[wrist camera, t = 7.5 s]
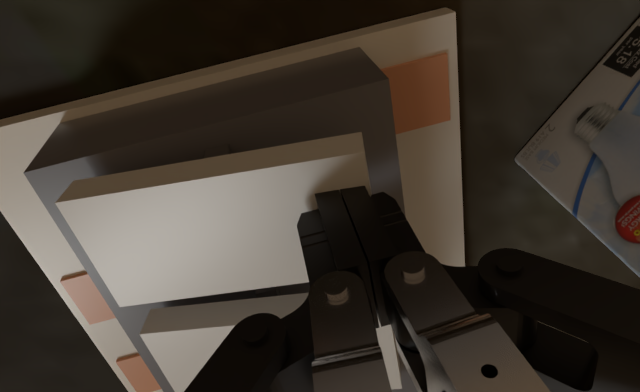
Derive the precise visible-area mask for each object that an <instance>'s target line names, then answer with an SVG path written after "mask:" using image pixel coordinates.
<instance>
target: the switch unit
mask: <svg viewBox="0 0 640 392" xmlns="http://www.w3.org/2000/svg"><path fill="white" fill-rule="evenodd" d="M357 132H362V137H363V143H364V149H365V156H366V162H367V168H368V174H369V180H370V186H371V192H372V194H376V193H380V192H385V193H386V194H388V195H389V196H391V197H393V198H394V199H395V200H396V201H397V203H398V205H399V207H400V208H401V211H402V212H403V214H404V215H405V217H406V220H407V221H408V222H409V224H410V226H411V228H412V229H413V231H414V233H415V235H416V236H417V238H418V240H419V242H420V243H421V245H422V247H423V249H424V250H425V252H426V253H428V254H430V255H432V256H434V257H435V258H436V259H437V260H438V261H439V262H440V263H441V264H444V265H448V266H456V267H465V253H464V225H463V198H462V170H461V143H460V116H459V88H458V61H457V34H456V12H455V11H453V10H451V9H449V8H447V7H444V8H440V9H436V10H432V11H428V12H424V13H420V14H417V15H413V16H409V17H405V18H401V19H397V20H393V21H389V22H385V23H381V24H377V25H373V26H369V27H365V28H361V29H357V30H353V31H349V32H345V33H341V34H337V35H333V36H329V37H325V38H321V39H317V40H314V41H310V42H306V43H302V44H298V45H294V46H290V47H286V48H282V49H278V50H274V51H270V52H266V53H262V54H258V55H254V56H250V57H246V58H242V59H238V60H234V61H230V62H226V63H222V64H218V65H214V66H210V67H207V68H203V69H199V70H195V71H191V72H187V73H183V74H179V75H175V76H171V77H167V78H163V79H159V80H155V81H151V82H147V83H143V84H139V85H135V86H131V87H127V88H123V89H119V90H115V91H111V92H107V93H104V94H100V95H96V96H92V97H88V98H84V99H80V100H76V101H72V102H68V103H64V104H60V105H56V106H52V107H48V108H44V109H40V110H36V111H32V112H28V113H24V114H20V115H16V116H12V117H8V118H4V119H1V120H0V211H1V212H2V214H3V215H4V217H5V218H6V220H7V221H8V222H9V224H10V225H11V227H12V228H13V229H14V231H15V232H16V234H17V235H18V236H19V238H20V239H21V241H22V242H23V244H24V245H25V246H26V248H27V249H28V251H29V252H30V253H31V255H32V256H33V258H34V259H35V260H36V262H37V263H38V265H39V266H40V267H41V269H42V270H43V272H44V273H45V275H46V276H47V277H48V279H49V280H50V282H51V283H52V284H53V286H54V287H55V289H56V290H57V291H58V293H59V294H60V296H61V297H62V299H63V300H64V301H65V303H66V304H67V306H68V307H69V308H70V310H71V311H72V313H73V314H74V315H75V317H76V318H77V320H78V321H79V323H80V324H81V325H82V327H83V328H84V330H85V331H86V332H87V334H88V335H89V337H90V338H91V339H92V341H93V342H94V344H95V345H96V347H97V348H98V349H99V351H100V352H101V354H102V355H103V356H104V358H105V359H106V361H107V362H108V363H109V365H110V366H111V368H112V369H113V371H114V372H115V373H116V375H117V376H118V378H119V379H120V380H121V382H122V383H123V385H124V386H125V387H126V389H127V390H128V392H175V391H174V390H173V388H172V387H171V385H170V383H169V382H168V380H167V378H166V377H165V375H164V374H163V372H162V370H161V369H160V367H159V366H158V364H157V362H156V361H155V359H154V357H153V356H152V354H151V353H150V351H149V349H148V348H147V346H146V344H145V343H144V341H143V340H142V338H141V336H140V335H139V334H140V332H141V329H142V327H143V325H144V323H145V321H146V318H147V316H148V314H149V312H150V310H151V309H156V308H166V307H175V306H185V305H194V304H204V303H214V302H223V301H233V300H243V299H252V298H262V297H272V296H281V295H291V294H301V293H309V289H310V284H309V282H307V283H299V284H291V285H284V286H276V287H269V288H261V289H254V290H246V291H239V292H231V293H223V294H216V295H208V296H201V297H193V298H186V299H178V300H171V301H163V302H155V303H148V304H140V305H133V306H125V307H119V305H118V304H117V302H116V300H115V299H114V297H113V295H112V294H111V292H110V291H109V289H108V287H107V286H106V284H105V283H104V281H103V279H102V278H101V276H100V275H99V273H98V271H97V270H96V268H95V267H94V265H93V263H92V262H91V260H90V259H89V257H88V255H87V254H86V252H85V250H84V249H83V247H82V246H81V244H80V242H79V241H78V239H77V238H76V236H75V234H74V233H73V231H72V230H71V228H70V226H69V225H68V223H67V222H66V220H65V218H64V217H63V215H62V214H61V212H60V210H59V209H58V207H57V205H56V204H55V202H56V201H57V200H58V199H59V197H60V196H61V195H62V194H63V193H64V191H65V190H66V189H67V188H68V187H69V185H70V184H71V183H72V182H73V181H74V180H80V179H86V178H92V177H98V176H104V175H110V174H116V173H122V172H127V171H133V170H139V169H145V168H151V167H157V166H163V165H169V164H175V163H180V162H186V161H192V160H198V159H204V158H210V157H216V156H222V155H228V154H234V153H239V152H245V151H251V150H257V149H263V148H269V147H275V146H281V145H287V144H292V143H298V142H304V141H310V140H316V139H322V138H328V137H334V136H340V135H345V134H351V133H357ZM398 356H399V363H400V373H401V383H402V389H392V392H418V391H417V389H416V387H415V385H414V383H413V381H412V379H411V377H410V375H409V373H408V371H407V369H406V367H405V365H404V363H403V361H402V358H401V356H400V354H399V352H398Z"/></svg>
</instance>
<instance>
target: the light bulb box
mask: <svg viewBox="0 0 640 392" xmlns="http://www.w3.org/2000/svg"><path fill="white" fill-rule="evenodd" d="M515 162H516V163H517V164H518V165H519V166H521V167H522V168H523V169H524V170H525V171H526V172H527V173H528V174H530V175H531V176H532V177H533V178H534V179H535V180H536V181H537V182H538V183H539V184H540V185H541V186H542V187H543V188H544V189H545V190H546V191H547V192H548V193H550V194H551V195H552V196H553V197H554V198H555V199H556V200H557V201H558V202H559V203H560V204H562V205H563V206H564V207H565V208H566V209H567V210H568V211H569V212H570V213H571V214H573V215H574V216H575V217H576V218H577V219H578V220H579V221H580V222H581V223H582V224H583V225H584V226H585V227H586V228H587V229H588V230H590V231H591V232H592V233H593V234H594V235H595V236H596V237H597V238H598V239H599V240H600V241H601V242H602V243H603V244H605V245H606V246H607V247H608V248H609V249H610V250H611V251H612V252H613V253H614V254H615V255H616V256H617V257H618V258H620V259H621V260H622V261H623V262H624V263H625V264H626V265H627V266H628V267H629V268H630V269H631V270H632V271H634V272H635V273H636V274H637V275H638V276H639V277H640V17H639V19H638V20H637V21H636V22H635V23H634V24H633V25H632V26H631V28H630V29H629V30H628V31H627V32H626V33H625V34H624V35H623V36H622V38H621V39H620V40H619V41H618V42H617V43H616V44H615V45H614V47H613V48H612V49H611V50H610V51H609V52H608V53H607V54H606V56H605V57H604V58H603V59H602V60H601V61H600V62H599V63H598V65H597V66H596V67H595V68H594V69H593V70H592V71H591V72H590V74H589V75H588V76H587V77H586V78H585V79H584V80H583V81H582V82H581V84H580V85H579V86H578V87H577V88H576V89H575V90H574V91H573V92H572V94H571V95H570V96H569V97H568V98H567V99H566V100H565V101H564V103H563V104H562V105H561V106H560V107H559V108H558V109H557V110H556V112H555V113H554V114H553V115H552V116H551V117H550V118H549V119H548V121H547V122H546V123H545V124H544V125H543V126H542V127H541V128H540V130H539V131H538V132H537V133H536V134H535V135H534V136H533V137H532V138H531V140H530V141H529V142H528V143H527V144H526V145H525V146H524V148H523V149H522V150H521V151H520V152H519V153H518V154H517V155H516V157H515Z"/></svg>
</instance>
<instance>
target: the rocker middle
mask: <svg viewBox="0 0 640 392" xmlns="http://www.w3.org/2000/svg"><path fill="white" fill-rule="evenodd" d="M308 294H309V293H301V294H291V295H281V296H272V297H262V298H252V299H243V300H233V301H223V302H214V303H204V304H194V305H185V306H175V307H166V308H156V309H151V310H150V312H149V314H148V316H147V318H146V321H145V323H144V325H143V327H142V329H141V332H140V334H139V335H140V336H141V338H142V340H143V341H144V343H145V344H146V346H147V348H148V349H149V351H150V353H151V354H152V356H153V357H154V359H155V361H156V362H157V364H158V366H159V367H160V369H161V370H162V372H163V374H164V375H165V377H166V378H167V380H168V382H169V383H170V385H171V387H172V388H173V390H174V391H175V392H184V391H185V390H186V388H187V387H188V386H189V384H190V383H191V382H192V381H193V379H194V378H195V377H196V375H197V374H198V373H199V371H200V370H201V369H202V368H203V366H204V365H205V364H206V362H207V361H208V360H209V359H210V357H211V356H212V355H213V353H214V352H215V351H216V349H217V348H218V347H219V346H220V344H221V343H222V342H223V340H224V339H225V338H226V337H227V335H228V334H229V333H230V331H231V330H232V329H233V328H234V326H235V325H236V324H237V323H239V322H240V321H241V320H243V319H244V318H246V317H248V316H251V315H253V314H258V313H270V314H274V315H276V316H278V317H279V318H280V319H281V318H283V317H285V316H286V315H288V314H290V313H292V312H293V311H295V310H296V309H297V308H299V307H300V306H301V305H302V304H303V303H304V301H305V300H306V298H307V296H308ZM377 317H378V316H377ZM378 322H379V319H378ZM376 332H377V337H378V342H379V346H380V347H381V351H382V354H383V358H384V362H385V366H386V370H387V374H388V378H389V382H390V386H391V390H392V389H402V383H401V373H400V363H399V356H398V350H397V347H396V340H395V335H394V332H393V330H392V327H391V324H390V325H387V326H383V327H381V324H380V322H379V328H376Z"/></svg>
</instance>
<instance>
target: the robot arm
mask: <svg viewBox="0 0 640 392" xmlns="http://www.w3.org/2000/svg"><path fill="white" fill-rule="evenodd" d="M340 191H341V195H340V192H339V190H333V191H327V192H321V193H316V194H315V198H316V202H317V206H318V209H316V210H312V211H308V212H305V213H301V215H300V218H299V221H298V223H297V229H298V234H299V238H300V243H301V247H302V252H303V256H304V261H305V265H306V270H307V274H308V279H309V284H310V289H309V294H308V296H307V298H306V300H305V301H304V303H303V304H302V305H301V306H300V307H299V308H297V309H296V310H295V311H293V312H292V313H290V314H288V315H286V316H285V317H283V318H281V319H280V318H279V317H278V316H276V315H274V314H270V313H258V314H253V315H251V316H248V317H246V318H244V319H243V320H241V321H240V322H239V323H237V324H236V325H235V326H234V328H233V329H232V330H231V331H230V333H229V334H228V335H227V337H226V338H225V339H224V340H223V342H222V343H221V344H220V346H219V347H218V348H217V349H216V351H215V352H214V353H213V355H212V356H211V357H210V359H209V360H208V361H207V362H206V364H205V365H204V366H203V368H202V369H201V370H200V371H199V373H198V374H197V375H196V377H195V378H194V379H193V381H192V382H191V383H190V384H189V386H188V387H187V388H186V390H185V391H184V392H392V390H391V386H390V382H389V378H388V374H387V370H386V366H385V362H384V358H383V354H382V351H381V347H380V346H379V342H378V337H377V332H376V328H379V322H380V324H381V327H383V326H387V325H390V324H391V327H392V330H393V332H394V335H395V340H396V347H397V350H398V352H399V354H400V356H401V358H402V361H403V363H404V365H405V367H406V369H407V371H408V373H409V375H410V377H411V379H412V381H413V383H414V385H415V387H416V389H417V391H418V392H550V391H551V392H640V290H639V289H636V288H633V287H630V286H627V285H624V284H621V283H618V282H615V281H612V280H609V279H606V278H603V277H600V276H597V275H594V274H591V273H588V272H585V271H582V270H579V269H576V268H573V267H570V266H567V265H564V264H561V263H558V262H555V261H552V260H549V259H546V258H543V257H540V256H536V255H533V254H530V253H527V252H524V251H521V250H517V249H511V248H503V249H496V250H493V251H490V252H488V253H487V254H485V255H484V256H483V257H482V258H481V259H480V261H479V263H478V266H465V267H456V266H448V265H444V264H441V263H440V262H439V261H438V260H437V259H436V258H435V257H434V256H432V255H430V254H428V253H426V252H425V250H424V249H423V247H422V245H421V243H420V242H419V240H418V238H417V236H416V235H415V233H414V231H413V229H412V228H411V226H410V224H409V222H408V221H407V220H406V217H405V215H404V214H403V212H402V211H401V208H400V207H399V205H398V203H397V201H396V200H395V199H394V198H393V197H391V196H389V195H388V194H386V193H385V192H380V193H376V194H372V195H371V197H370V195H369V193H368V191H367V189H366V187H365V186H358V187H352V188H345V189H340ZM341 196H342V197H341ZM377 316H378V317H377ZM378 319H379V322H378ZM538 321H540V322H543V323H545V324H547V325H550V326H552V327H555V328H557V329H559V330H562V331H564V332H567V333H569V334H571V335H574V336H576V337H579V338H581V339H583V340H585V341H587V342H588V343H587V342H585V341H582V340H580V339H577V338H575V337H573V336H570V335H568V334H565V333H563V332H561V331H558V330H556V329H553V328H551V327H549V326H546V325H544V324H541V323H539V322H538ZM589 343H590V344H589Z"/></svg>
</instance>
